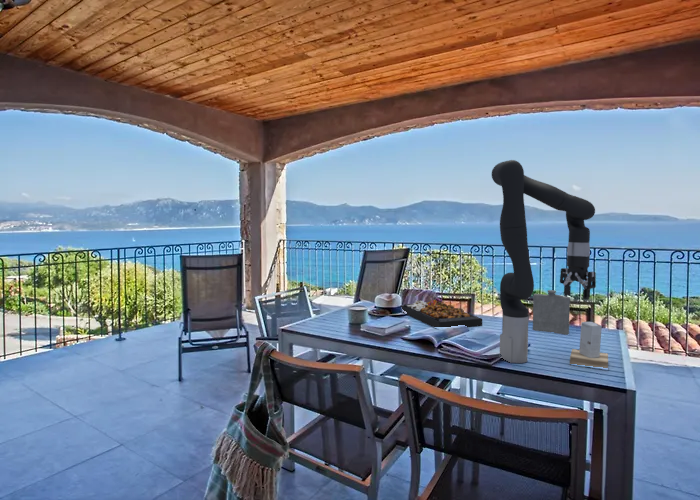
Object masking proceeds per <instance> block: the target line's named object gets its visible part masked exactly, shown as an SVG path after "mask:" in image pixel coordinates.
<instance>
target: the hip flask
mask: <svg viewBox="0 0 700 500" xmlns="http://www.w3.org/2000/svg"><path fill="white" fill-rule="evenodd" d="M556 293H557V290H552V289H548V290H547V294H541V293H534V294H532V295H533V298H532V299H533V303H532V304H533V305H532V307H533V308H532V331H536V332H544V333H551V332H554V333H553V334H559V335H564V336H568V334H569V335H570V313H571V312H570V311H571V310H570V309H571V306H570V304H571V297H570V296H566V295H562V294H561V295H560V294H556Z"/></svg>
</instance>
